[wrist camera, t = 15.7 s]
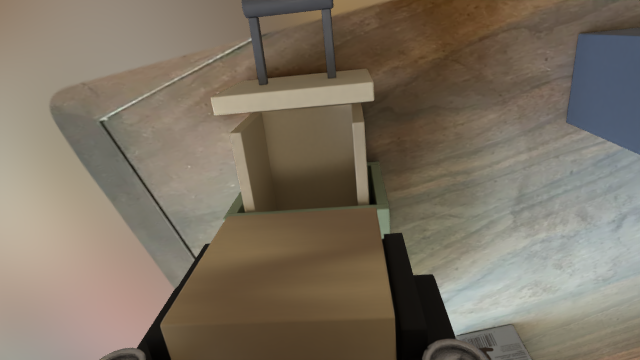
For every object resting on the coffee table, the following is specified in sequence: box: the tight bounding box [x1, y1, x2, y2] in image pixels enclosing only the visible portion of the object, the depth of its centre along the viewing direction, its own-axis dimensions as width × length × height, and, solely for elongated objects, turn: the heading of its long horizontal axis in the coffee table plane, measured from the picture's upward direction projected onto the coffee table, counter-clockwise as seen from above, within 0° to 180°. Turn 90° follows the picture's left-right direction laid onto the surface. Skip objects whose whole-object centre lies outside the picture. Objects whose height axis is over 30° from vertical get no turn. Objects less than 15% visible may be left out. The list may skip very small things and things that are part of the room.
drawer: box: [211, 0, 374, 213], centre depth 29 cm, size 19×10×8 cm, turn 6°
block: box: [160, 207, 396, 360], centre depth 10 cm, size 4×4×4 cm
